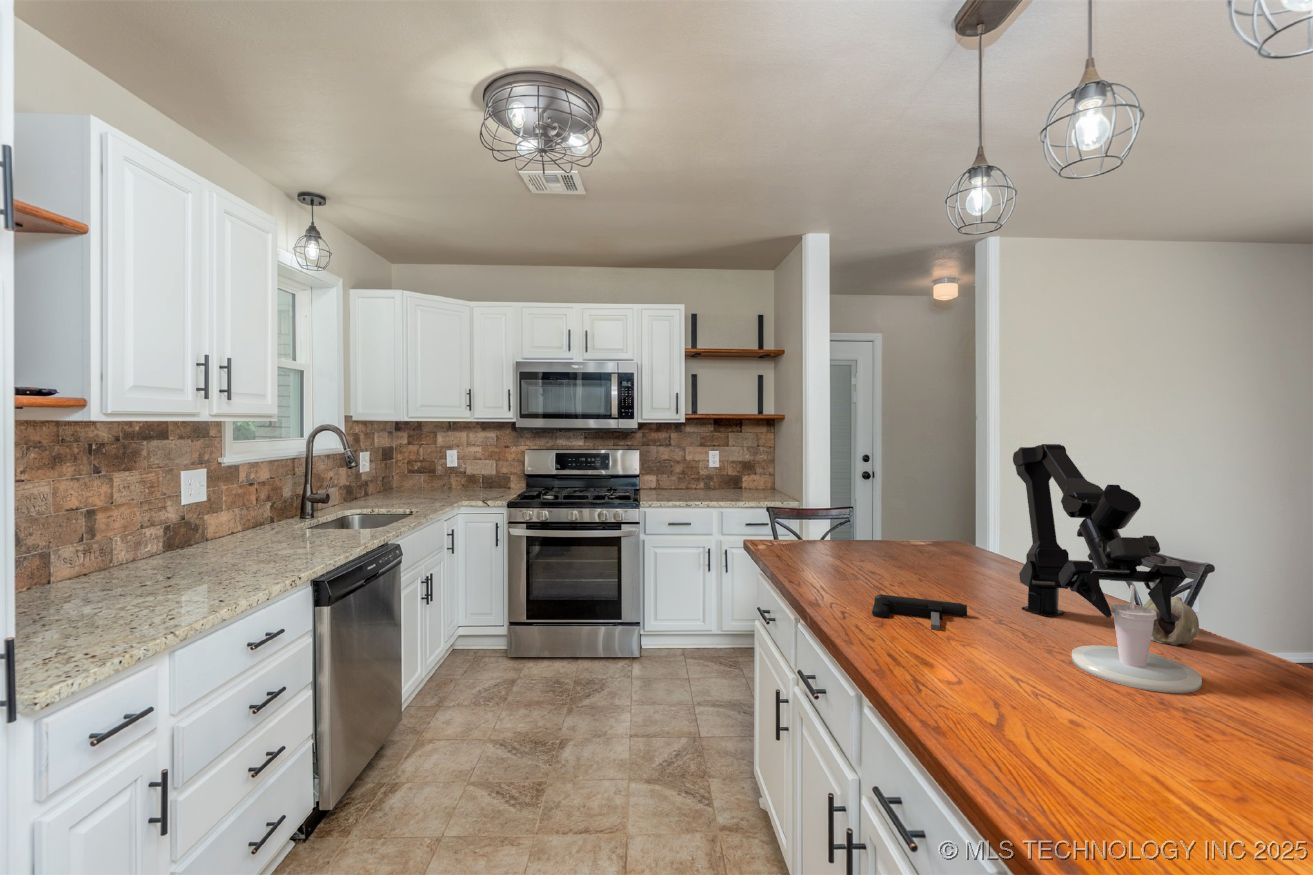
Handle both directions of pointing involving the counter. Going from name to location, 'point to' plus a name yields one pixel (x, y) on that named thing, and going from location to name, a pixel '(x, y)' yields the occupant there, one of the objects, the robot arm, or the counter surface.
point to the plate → (1137, 670)
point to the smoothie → (1133, 631)
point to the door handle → (916, 608)
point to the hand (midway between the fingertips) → (1139, 618)
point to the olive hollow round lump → (1174, 623)
